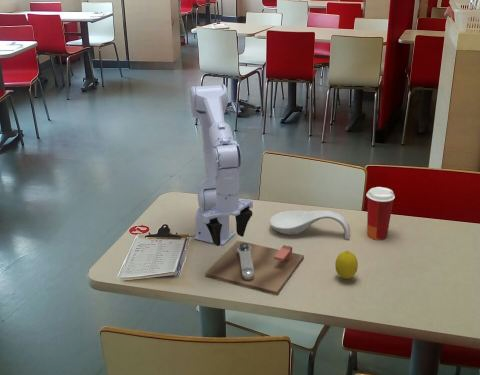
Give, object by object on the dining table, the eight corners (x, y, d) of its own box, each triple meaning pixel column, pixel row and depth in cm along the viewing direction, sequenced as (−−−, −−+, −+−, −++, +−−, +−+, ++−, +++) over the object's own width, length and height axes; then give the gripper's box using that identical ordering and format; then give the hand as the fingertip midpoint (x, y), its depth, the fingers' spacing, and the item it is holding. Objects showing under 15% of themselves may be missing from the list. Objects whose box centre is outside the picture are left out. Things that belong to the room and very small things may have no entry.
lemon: (356, 285, 136) (358, 257, 132) (334, 283, 137) (335, 255, 133) (356, 273, 141) (358, 246, 137) (335, 271, 142) (336, 244, 138)
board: (205, 276, 140) (205, 273, 140) (237, 243, 156) (237, 240, 156) (277, 295, 132) (277, 291, 132) (303, 258, 148) (303, 255, 148)
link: (236, 249, 150) (236, 241, 149) (250, 248, 150) (250, 241, 150) (240, 280, 136) (240, 272, 135) (256, 279, 136) (256, 271, 135)
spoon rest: (265, 237, 160) (265, 215, 157) (273, 219, 170) (274, 199, 167) (347, 246, 154) (349, 224, 151) (350, 227, 164) (352, 206, 162)
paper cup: (391, 231, 161) (396, 188, 156) (389, 243, 155) (394, 198, 149) (364, 227, 164) (368, 184, 158) (361, 239, 157) (365, 195, 152)
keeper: (274, 267, 142) (274, 256, 141) (283, 255, 148) (283, 245, 146) (282, 269, 141) (283, 258, 140) (292, 257, 147) (292, 247, 145)
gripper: (212, 204, 128) (214, 254, 134) (260, 188, 136) (260, 236, 142) (196, 195, 133) (198, 243, 139) (243, 180, 141) (243, 227, 147)
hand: (228, 239), depth 141 cm, fingers open, 7 cm apart
